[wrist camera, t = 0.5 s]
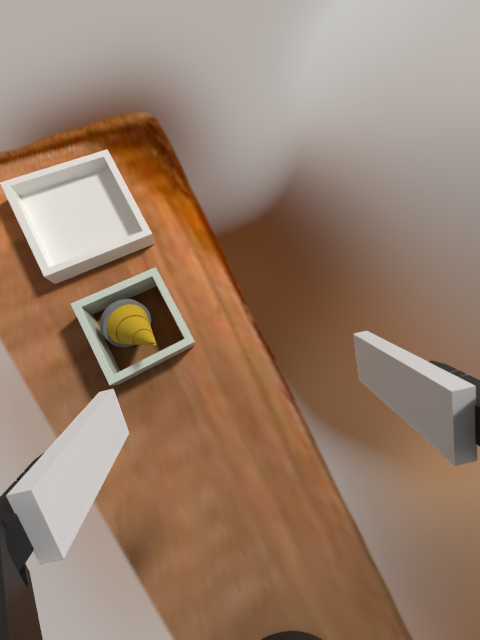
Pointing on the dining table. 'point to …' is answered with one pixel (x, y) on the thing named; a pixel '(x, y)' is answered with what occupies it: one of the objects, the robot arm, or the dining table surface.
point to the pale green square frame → (118, 292)
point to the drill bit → (127, 324)
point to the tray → (77, 215)
